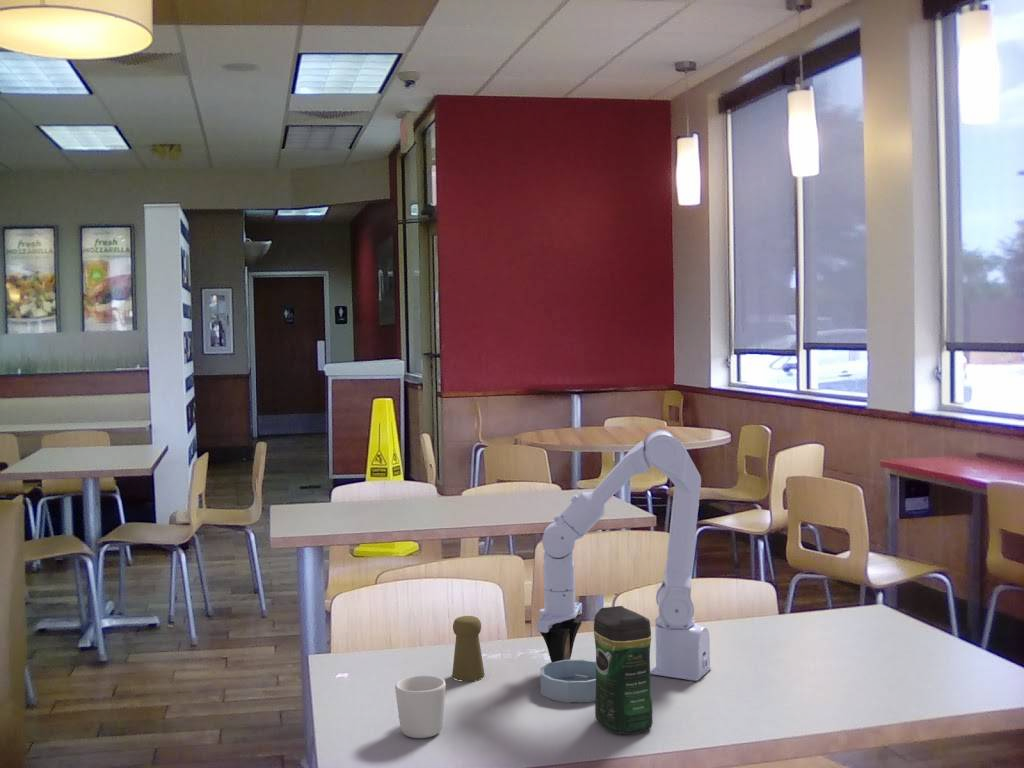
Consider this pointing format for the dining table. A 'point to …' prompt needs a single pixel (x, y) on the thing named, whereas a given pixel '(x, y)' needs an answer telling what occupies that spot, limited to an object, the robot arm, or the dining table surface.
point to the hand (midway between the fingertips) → (561, 660)
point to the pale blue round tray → (569, 680)
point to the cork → (467, 649)
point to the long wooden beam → (567, 648)
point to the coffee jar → (623, 670)
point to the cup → (421, 705)
